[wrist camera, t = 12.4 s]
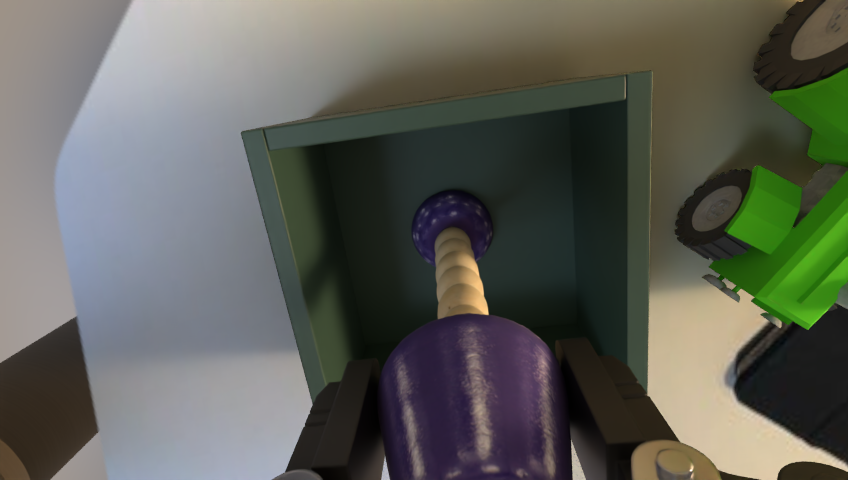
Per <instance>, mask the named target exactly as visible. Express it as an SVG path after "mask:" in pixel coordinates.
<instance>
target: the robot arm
mask: <svg viewBox="0 0 848 480" xmlns="http://www.w3.org/2000/svg"><path fill="white" fill-rule="evenodd" d="M555 350H556V359H557V360H558V362H559V365H560V367H561V370H562V372H563V375H564V378H565V382H566V387H567V393H568V399H569V418H570V435H571V440H572V442H573V445H574V448H575V451H576V453H577V456H578V459H579V461H580V464H581V467H582V469H583V472H584V475H585V478H586V480H759V479H753V478H747V477H742V476H737V475H732V474H728V473H725V472H722V471H719V470H717V468H716V466H715V465H714V464H713V463H712V461H711V460H710V459H709V458H707V457H706V456H705V455H704V454H703V453H701V452H700V451H698V450H696V449H694V448H693V447H691V446H688V445H686V444H683V443H680V441H679V440H678V438H677V437H676V435H675V434H674V432H673V431H672V429H671V428H670V426H669V425H668V424H667V422H666V421H665V419H664V418H663V416H662V415H661V413H660V412H659V410H658V409H657V407H656V406H655V404H654V403H653V401H652V400H651V398H650V397H649V396H647V393H646V391H645V390H644V388H643V387H642V385H641V384H639V381H638V379H637V378H636V376H635V375H634V373H633V372H632V370H631V369H630V367H629V366H627V365H626V364H624V363H623V362H622V361H620V360H619V359H617V358H616V357H614V356H613V355H606V356H598V355H597V354H596V352H595V350H594V349H593V347H592V345H591V344H590V342H589V340H588V339H587V338H586V337H582V338H572V339H562V340H556V344H555ZM380 375H381V371H380V366H379V363H378V360H377V359H376V358H372V359H363V360H353V361H348V363H347V365H346V368H345V371H344V374H343V376H342V379H341V381H338V382H329V383H328V384H327V386H326V387H325V388H324V389H323V390H322V391H321V392H320V393H319V394H318V395H317V396H316V398H315V401H314V403H313V406H312V408H311V410H310V414H309V415H308V418H307V420H306V423H305V427H303V430H302V432H301V435H300V437H299V440H298V442H297V444H296V447H295V449H294V452H293V454H292V457H291V459H290V461H289V464H288V466H287V469H286V471H285V473H283V474H281V475H279V476H277V477H275V478H274V479H272V480H381V477H382V470H383V464H384V457H385V452H384V446H383V441H382V436H381V430H380V424H379V418H378V411H377V390H378V383H379V379H380ZM777 480H848V472H846V471H844V470H842V469H839V468H836V467H833V466H830V465H826V464H821V463H815V462H795V463H791V464H788V465H786V466H784V467H783V468H782V469H781V470H780V472H779V473H778V478H777Z"/></svg>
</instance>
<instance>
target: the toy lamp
mask: <svg viewBox="0 0 848 480" xmlns="http://www.w3.org/2000/svg"><path fill="white" fill-rule="evenodd" d="M411 234H412V239H413V243H414V246H415V248H416V250H417V251H418V253H419V254H420V255H421V257H422V258H423V259H424V260H426V261H427V262H428V263H429V264H431V265H433V266H434V267H436V282H437V298H438V302H439V304H438V319H437V320H433V321H431V322H428V323H427V324H425V325H424V326H422V327H420V328H418V329H416V330H415V331H414V332H412V333H410V334H409V335H408V336H406V337H405V338H404V339H403V340H402V341H401V342H400V343H399V344H398V346H397V347H396V348H395V349H394V350H393V352H392V353H391V354H390V356H389V357H388V359H387V361H386V363H385V365H384V367H383V369H382V372H381V375H380V379H379V383H378V390H377V411H378V418H379V424H380V430H381V436H382V441H383V446H384V452H385V457H386V462H387V467H388V472H389V477H390V480H573V478H572V455H571V435H570V418H569V399H568V393H567V387H566V382H565V378H564V375H563V372H562V370H561V367H560V365H559V362H558V360H557V359H556V357H555V356H554V354H553V352H552V351H551V350H550V349H549V347H548V346H547V344H545V343H544V342H543V341H542V340H541V339H540V338H539V337H538V336H536V335H535V334H534V333H533V332H531V331H530V330H529V329H527V328H526V327H524V326H523V325H519V324H518V323H516V322H514V321H511V320H508V319H506V318H502V317H498V316H495V315H488V306H487V302H486V300H485V298H484V291H483V284H482V281H481V279H480V278H479V271H478V267H477V264H476V262H478V261H479V260H480V259H481V258H482V257H483V256H484V255H485V253H486V252H487V250H488V248H489V246H490V244H491V241H492V237H493V223H492V219H491V215H490V213H489V211H488V210H487V208H486V206H485V205H484V204H483V203H482V202H481V201H480V200H479V199H478V198H477V197H475V196H473V195H471V194H469V193H466V192H464V191H460V190H448V191H443V192H439V193H437V194H435V195H433V196H431V197H429V198H428V199H427V200H425V201H424V202H423V203H422V204H421V205H420V207H419V208H418V209H417V211H416V213H415V215H414V218H413V221H412V228H411Z"/></svg>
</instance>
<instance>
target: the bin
mask: <svg viewBox="0 0 848 480" xmlns="http://www.w3.org/2000/svg"><path fill="white" fill-rule="evenodd" d="M652 81H653V71H651V70H650V71H640V72H630V73H621V74H611V75H601V76H591V77H582V78H574V79H567V80H561V81H554V82H547V83H541V84H534V85H527V86H520V87H514V88H507V89H500V90H494V91H487V92H480V93H474V94H467V95H460V96H453V97H447V98H440V99H433V100H427V101H420V102H413V103H407V104H400V105H393V106H387V107H380V108H373V109H366V110H360V111H353V112H346V113H340V114H333V115H326V116H320V117H313V118H307V119H302V120H297V121H292V122H286V123H281V124H276V125H271V126H266V127H261V128H256V129H251V130H246V131H242V132H241V135H242V139H243V143H244V147H245V150H246V154H247V158H248V162H249V165H250V169H251V173H252V177H253V181H254V184H255V188H256V192H257V196H258V199H259V203H260V207H261V211H262V215H263V218H264V222H265V226H266V230H267V233H268V237H269V241H270V245H271V248H272V252H273V256H274V260H275V264H276V267H277V271H278V275H279V279H280V282H281V286H282V290H283V294H284V298H285V301H286V305H287V309H288V313H289V316H290V320H291V324H292V328H293V331H294V335H295V339H296V343H297V347H298V350H299V354H300V358H301V362H302V365H303V369H304V373H305V377H306V381H307V384H308V388H309V392H310V396H311V399H312V403H314V401H315V398H316V396H317V395H318V394H319V393H320V392H321V391H322V390H323V389H324V388H325V387H326V386H327V384H328V383H329V382H338V381H341V379H342V376H343V374H344V371H345V368H346V365H347V363H348V361H353V360H363V359H372V358H376V359H377V360H378V363H379V366H380V371H381V372H382V369H383V367H384V365H385V363H386V361H387V359H388V357H389V356H390V354H391V353H392V352H393V350H394V349H395V348H396V347H397V346H398V344H399V343H400V342H401V341H402V340H403V339H404V338H405V337H406V336H408V335H409V334H410V333H412V332H414V331H415V330H416V329H418V328H420V327H422V326H424V325H425V324H427V323H428V322H431V321H433V320H437V319H438V304H439V302H438V298H437V282H436V267H434V266H433V265H431V264H429V263H428V262H427V261H426V260H424V259H423V258H422V257H421V255H420V254H419V253H418V251H417V250H416V248H415V246H414V243H413V239H412V234H411V228H412V221H413V218H414V215H415V213H416V211H417V209H418V208H419V207H420V205H421V204H422V203H423V202H424V201H425V200H427V199H428V198H429V197H431V196H433V195H435V194H437V193H439V192H443V191H448V190H460V191H464V192H466V193H469V194H471V195H473V196H475V197H477V198H478V199H479V200H480V201H481V202H482V203H483V204H484V205H485V206H486V208H487V210H488V211H489V213H490V215H491V219H492V223H493V237H492V241H491V244H490V246H489V248H488V250H487V252H486V253H485V255H484V256H483V257H482V258H481V259H480V260H479V261H478V262H476V264H477V267H478V271H479V278H480V279H481V281H482V284H483V291H484V298H485V300H486V302H487V306H488V315H495V316H498V317H502V318H506V319H508V320H511V321H514V322H516V323H518V324H519V325H523V326H524V327H526V328H527V329H529V330H530V331H531V332H533V333H534V334H535V335H536V336H538V337H539V338H540V339H541V340H542V341H543V342H544V343H545V344H547V346H548V347H549V349H550V350H551V351H552V352H553V354H554V356H555V357H556V350H555V344H556V340H562V339H572V338H582V337H586V338H587V339H588V340H589V342H590V344H591V345H592V347H593V349H594V350H595V352H596V354H597V355H598V356H606V355H613V356H614V357H616V358H617V359H619V360H620V361H622V362H623V363H624V364H626V365H627V366H629V367H630V369H631V370H632V372H633V373H634V375H635V376H636V378H637V379H638V381H639V384H641V385H642V387H643V388H644V390H645V391H646V393H647V384H648V323H649V262H650V202H651V141H652Z"/></svg>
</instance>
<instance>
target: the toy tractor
mask: <svg viewBox="0 0 848 480" xmlns="http://www.w3.org/2000/svg"><path fill="white" fill-rule="evenodd" d="M787 14H788V15H789V17H788V18H787V19H786V20H785V21H784V23H782V24H777V25H776V26H775V27H774V29H773V30H772V31H771V33H770V34H769V35H770V36H771V37H772V39H771V40H770V42H769V43H767V44H764V45H762V47H761V49H760V50H759V52H758V55H759V56H761V57H762V59H761V60H759V61H757V62H755V63H754V68H753V71H755V72H756V73H757V74H758V75H756V76H754V78H755V81H756V82H757V83H758V84H759V85H761V87H763V88H764V89H766V90H767V91H768V92H770V93H771V96H770V97H769V98H770V99H771V100H773V101H774V102H776V103H777V104H778V105H780V106H781V107H783V108H784V109H785V110H787V111H788V112H789V113H791V114H792V115H794V116H795V117H796V118H798V119H799V120H800V121H802V122H803V123H805V124H806V125H807V126H809V127H810V128H812V134H811V139H810V144H809V149H808V153H807V155H808V156H809V157H811V158H812V159H814V160H815V161H816V162H818V163H819V164H821V165H822V166H823V167H822V168H821V169H820V170H819V171H816V172H814V173H813V175H812V179H811V180H810V181H809V183H808V184H807V185H806V186H803V187H799V186H797V185H795V184H794V183H792V182H790V181H788V180H786V179H784V178H782V177H780V176H779V175H777V174H775V173H773V172H771V171H769V170H767V169H765V168H763V167H762V166H760V165H758V166H756V167H754V168H753V170H752V171H751V172H750V171H749V170H747V169H741V171H740V170H739V171H738V170H737V169H734V170H730V171H729V173H726V174H725V173H724V172H723V173H721V174H719V175H717V178H715V179H714V180H712V179H710V180H708V181H707V182H705V186H704V187H702V188H701V189H700V188H698V189H697V190H696V191H695V192H694V194H695V195H694V196H693V197H692V199H691V198H688V200H687V201H686V202H685V204H686V207H685V209H681V210H680V212H679V214H678V215H680V216H681V217H680V219H677V220H676V223H675V225H676V226H677V227H678V228H677V229H675V234H676V235H677V236H679V237H677V239H678V240H679V241H680V242H681V243H683V244H684V245H685V246H687V247H688V248H690V249H691V250H693V251H694V252H696V253H698V254H699V255H701V256H702V257H704V258H706V259H708V260H709V258H710V259H712V260H714V261H713V262H712V264H711V265H710V266H709V268H711V269H712V270H714V271H715V272H717V273H718V274H720V276H719V277H718V278H716V277H715V276H713V275H710V274H708V275H704V276H703V277H702V278H704V279H705V280H707V281H708V282H710V283H711V284H713V285H714V286H716V287H717V288H719V290H721V291H722V292H724V293H725V294H727V295H728V296H730V297H731V298H733V299H734V300H736V301H737V302H739V300H740V296H739V295H738V294H737V292H738V291H739V290H740V289H743V290H744V291H746V292H747V293H749V294H750V295H752V296H753V297H755V298H754V299H753V300H752V301H751V302H753V303H754V304H756V305H757V306H759V307H760V308H762V309H763V310H765V311H767V312H768V313H762V314H760V315H762V316H763V317H764V318H766V319H767V320H769V321H770V322H772V323H773V324H775V325H776V326H778V327H780V328H781V321H783V322H784V323H786V324H788V325H789V324H790V323H791V322H792V321H794V322H795V323H797V324H799V325H800V326H802V327H804V328H805V329H807V330H808V329H809V328H810V327H811V326H812V325H813V324H814V323H815V322H816V321H817V320H818V319H819V318H820V317H821V316H822V315H823V314H824V313H825V312H826V311H827V310H828V311H831V310H834V309H836V308H837V305H841V306H843V307H845V308H847V309H848V0H804V1H803V2H797V3H796V4H795V5H794V6H793V7H792V8H791V9H790V10H789V11H788V12H787ZM793 227H794V228H793ZM724 278H726V279H728V280H729V281H731V282H732V283H734V284H735V285H737V286H736V287H735V288H734V289H732V290H731V289H729V288H726V284H725V283H724V282H722V280H723V279H724ZM777 318H778V319H777ZM780 320H781V321H780Z"/></svg>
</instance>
